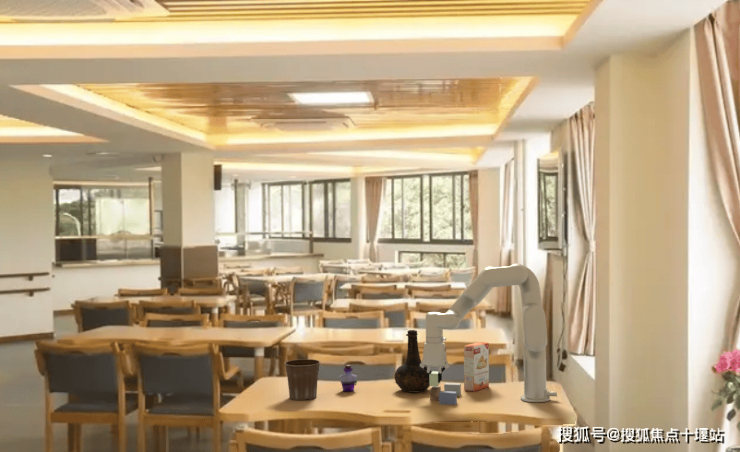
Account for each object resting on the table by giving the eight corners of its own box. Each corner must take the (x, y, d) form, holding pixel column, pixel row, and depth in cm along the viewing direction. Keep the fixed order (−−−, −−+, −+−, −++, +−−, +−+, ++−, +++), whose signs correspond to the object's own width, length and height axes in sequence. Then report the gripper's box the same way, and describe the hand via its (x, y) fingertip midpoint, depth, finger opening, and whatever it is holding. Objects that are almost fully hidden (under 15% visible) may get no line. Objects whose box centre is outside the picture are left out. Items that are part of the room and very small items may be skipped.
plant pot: (315, 402, 366) (314, 365, 366) (280, 401, 369) (279, 365, 369) (325, 394, 382) (324, 359, 382) (291, 393, 385) (290, 358, 385)
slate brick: (460, 394, 377) (460, 383, 377) (459, 396, 374) (459, 384, 374) (445, 393, 379) (445, 382, 379) (444, 395, 376) (444, 384, 376)
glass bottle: (433, 386, 395) (432, 327, 395) (432, 394, 377) (431, 332, 377) (396, 386, 397) (395, 327, 397) (393, 394, 379) (392, 333, 379)
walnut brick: (440, 397, 371) (440, 386, 371) (437, 401, 364) (437, 389, 364) (433, 397, 372) (432, 386, 372) (430, 400, 365) (429, 389, 365)
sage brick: (440, 382, 371) (440, 371, 371) (437, 386, 365) (437, 375, 364) (432, 382, 372) (432, 371, 372) (429, 386, 365) (429, 374, 365)
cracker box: (475, 392, 381) (474, 346, 381) (463, 390, 385) (462, 345, 385) (490, 386, 392) (489, 342, 392) (478, 385, 396) (478, 341, 396)
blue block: (456, 403, 360) (456, 391, 360) (455, 405, 356) (455, 393, 356) (440, 402, 361) (440, 391, 361) (439, 404, 358) (439, 392, 358)
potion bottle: (360, 391, 387) (360, 365, 387) (343, 393, 383) (343, 367, 383) (353, 388, 395) (352, 362, 395) (336, 390, 391) (335, 364, 391)
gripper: (454, 339, 370) (454, 380, 370) (417, 338, 374) (418, 379, 374) (451, 342, 362) (451, 384, 363) (414, 341, 367) (414, 382, 367)
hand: (434, 381), depth 368 cm, fingers closed on sage brick, 3 cm apart
